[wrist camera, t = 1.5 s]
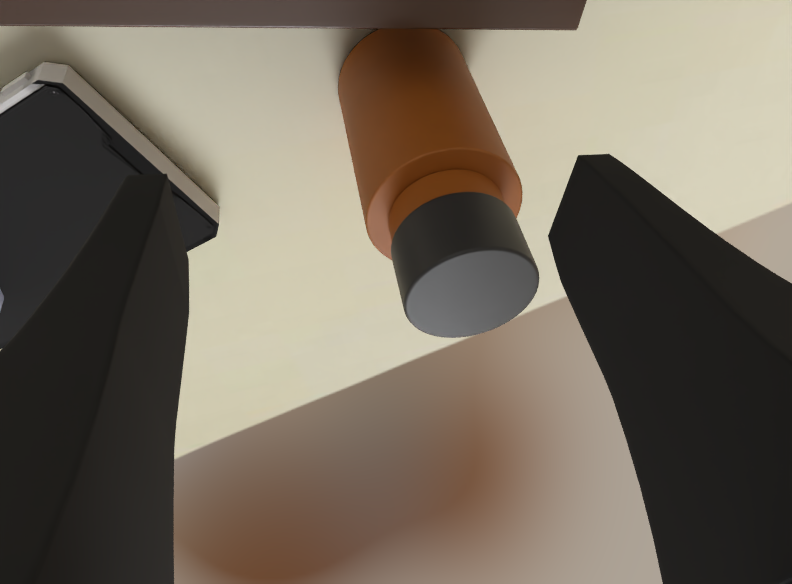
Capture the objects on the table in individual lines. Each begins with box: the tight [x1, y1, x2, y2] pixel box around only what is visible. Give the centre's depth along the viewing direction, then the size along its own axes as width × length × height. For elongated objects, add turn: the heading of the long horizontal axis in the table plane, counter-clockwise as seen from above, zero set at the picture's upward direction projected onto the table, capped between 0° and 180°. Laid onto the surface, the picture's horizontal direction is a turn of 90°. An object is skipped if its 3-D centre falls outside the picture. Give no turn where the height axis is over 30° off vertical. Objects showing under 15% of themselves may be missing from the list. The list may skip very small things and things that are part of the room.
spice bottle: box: [338, 29, 539, 338], centre depth 18 cm, size 4×4×10 cm
